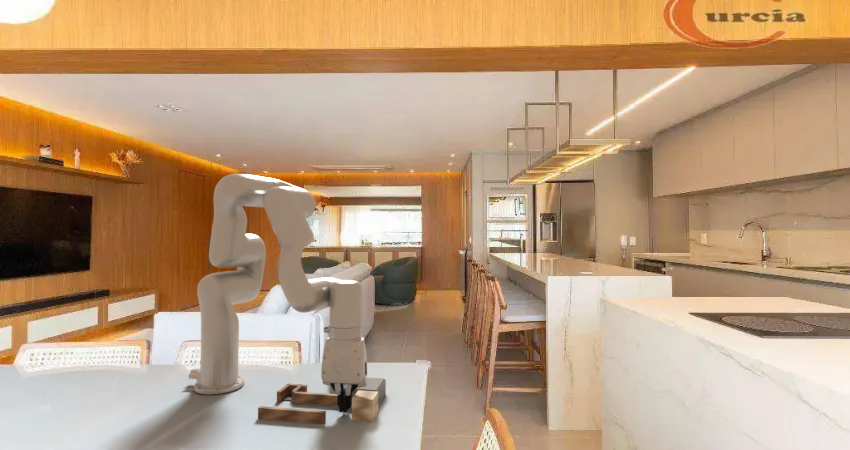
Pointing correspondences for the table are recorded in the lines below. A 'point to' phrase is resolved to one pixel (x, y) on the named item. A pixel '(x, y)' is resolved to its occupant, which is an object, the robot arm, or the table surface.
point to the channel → (298, 396)
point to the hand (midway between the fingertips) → (344, 410)
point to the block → (365, 405)
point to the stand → (373, 387)
